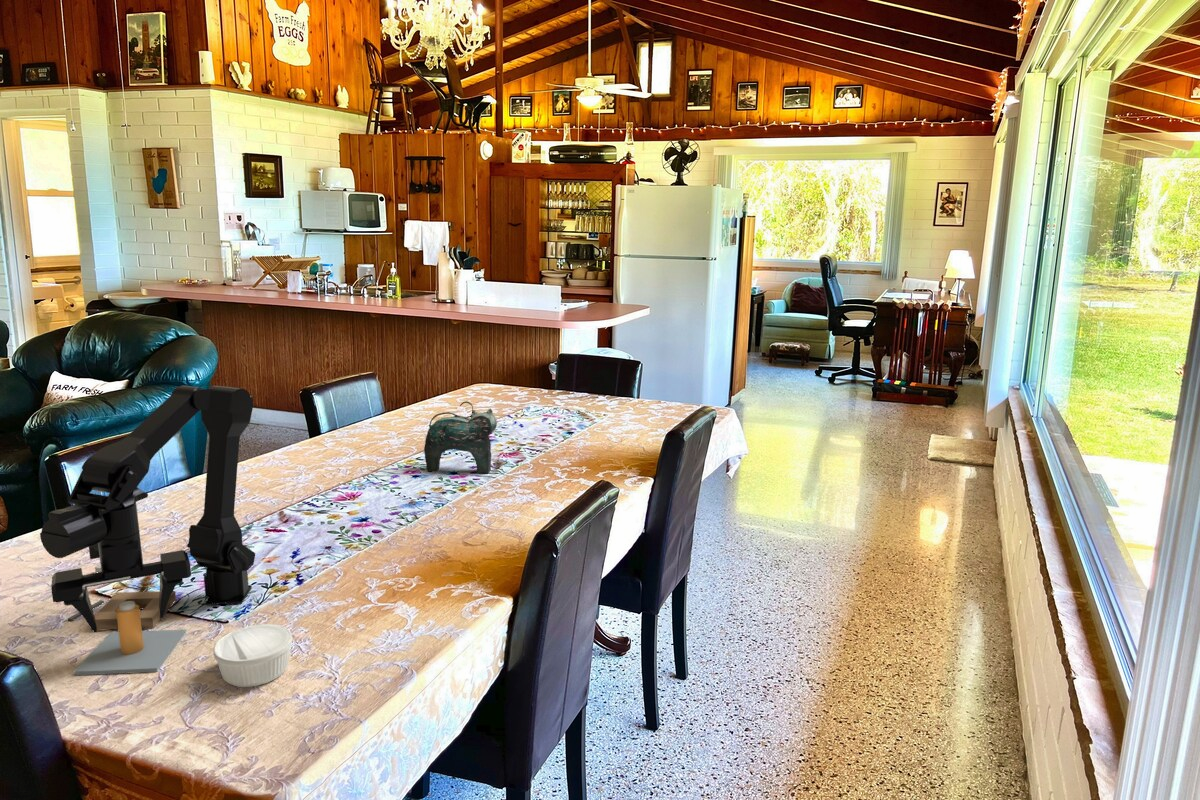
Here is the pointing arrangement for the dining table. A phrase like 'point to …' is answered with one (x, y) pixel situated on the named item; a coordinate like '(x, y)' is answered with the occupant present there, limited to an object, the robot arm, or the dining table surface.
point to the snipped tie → (80, 614)
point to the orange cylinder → (129, 628)
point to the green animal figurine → (461, 438)
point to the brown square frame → (145, 600)
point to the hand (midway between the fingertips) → (129, 624)
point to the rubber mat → (147, 660)
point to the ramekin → (253, 654)
